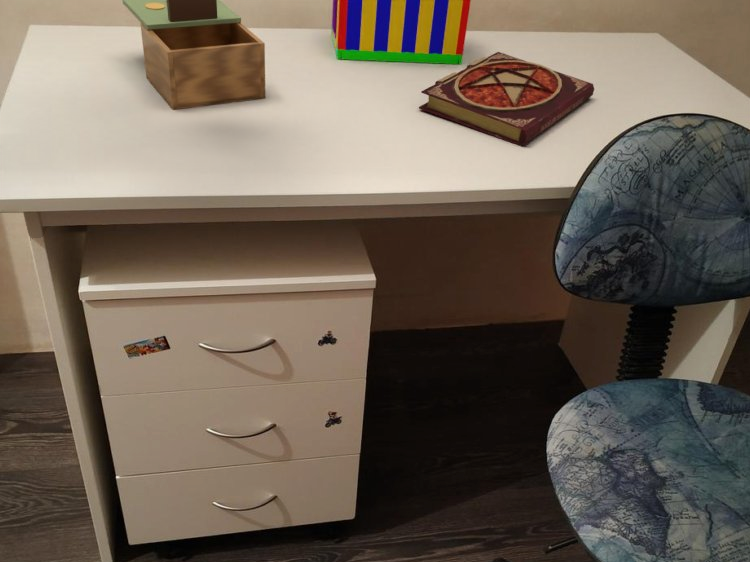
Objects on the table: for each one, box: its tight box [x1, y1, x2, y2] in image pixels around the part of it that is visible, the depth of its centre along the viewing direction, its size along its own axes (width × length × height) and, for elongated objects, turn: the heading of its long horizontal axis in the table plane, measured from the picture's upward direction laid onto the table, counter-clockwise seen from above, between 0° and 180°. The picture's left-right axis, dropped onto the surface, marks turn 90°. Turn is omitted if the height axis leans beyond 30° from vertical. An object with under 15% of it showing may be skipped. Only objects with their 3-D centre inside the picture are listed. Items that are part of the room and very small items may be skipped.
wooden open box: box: [139, 22, 266, 110], centre depth 133 cm, size 16×14×9 cm
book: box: [418, 51, 595, 147], centre depth 141 cm, size 28×21×5 cm
